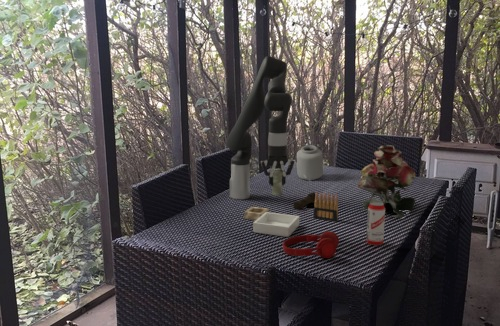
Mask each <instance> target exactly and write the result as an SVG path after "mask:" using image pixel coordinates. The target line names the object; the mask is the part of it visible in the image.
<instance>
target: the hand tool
mask: <svg viewBox="0 0 500 326" xmlns="http://www.w3.org/2000/svg"><path fill="white" fill-rule="evenodd" d="M315 195H316V192H314V191H313V192H309V193H308V194H307V196H305V197H304V198H301V199H299V200H298V201H294V202H293V209H294V210H298V211H300V210H302V209H303V208H304V207H306V206H308V205H309V204H313V203H315Z"/></svg>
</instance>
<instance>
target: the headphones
mask: <svg viewBox="0 0 500 326" xmlns="http://www.w3.org/2000/svg"><path fill="white" fill-rule="evenodd" d="M305 242H306V243H311V242H314V243H317V244H316V247H309V248H307V247H306V248H291V247H289V246H292V245H295V244H297V243H298V244H299V243H305ZM339 244H340V239H339V237H338V235H337V233H335V232H334V231H330V230H328V231H324V232H323V233H321V234H303V235H296V236H293V237H290V238H289V237H288V239H286V240H285V241H283V243H282V249H283V252H284V253H285V254H286V255H288V256H295V257H307V256H309V257H310V256H319V257H320V258H323V259H330V258H332V257H334V256H335V255H336V253H337V248H338V246H339ZM315 250H316V251H315Z"/></svg>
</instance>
